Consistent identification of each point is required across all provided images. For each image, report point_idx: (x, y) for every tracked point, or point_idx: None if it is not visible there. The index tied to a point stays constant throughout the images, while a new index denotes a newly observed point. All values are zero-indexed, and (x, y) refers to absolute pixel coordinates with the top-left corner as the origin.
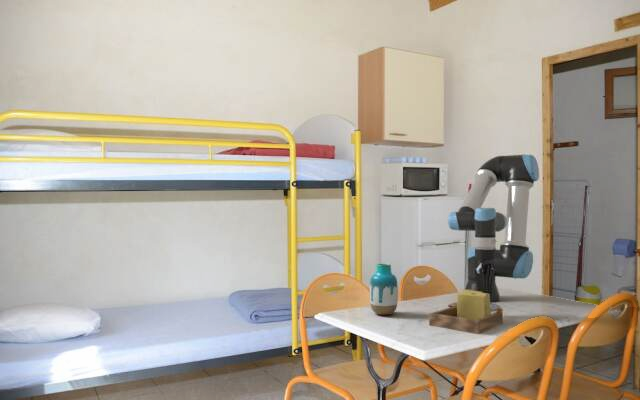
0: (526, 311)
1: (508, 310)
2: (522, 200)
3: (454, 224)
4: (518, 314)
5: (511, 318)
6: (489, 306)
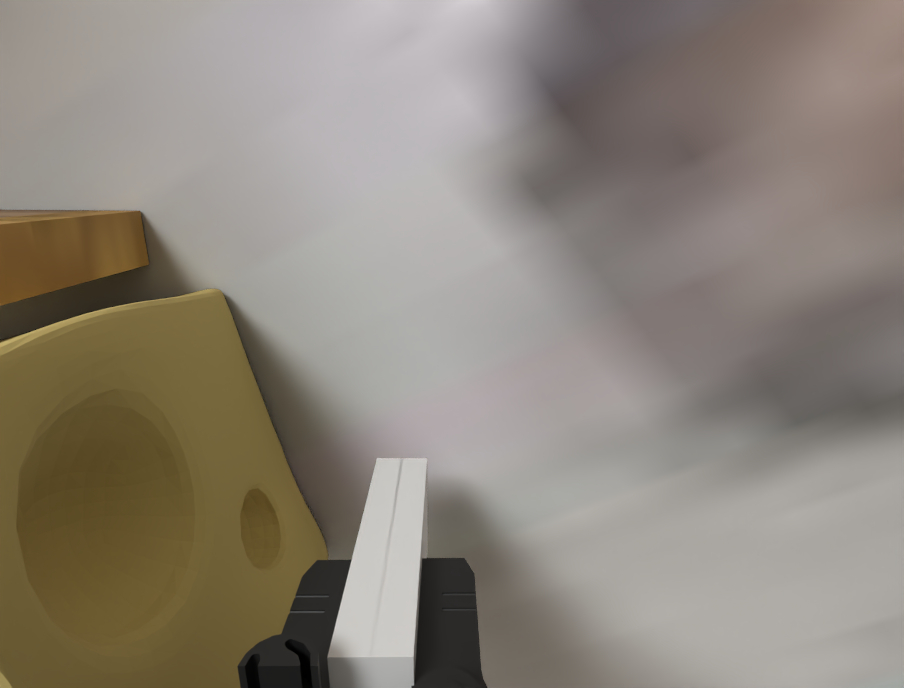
0: (896, 667)
1: (859, 532)
2: None
3: None
4: (701, 663)
5: None
6: None
